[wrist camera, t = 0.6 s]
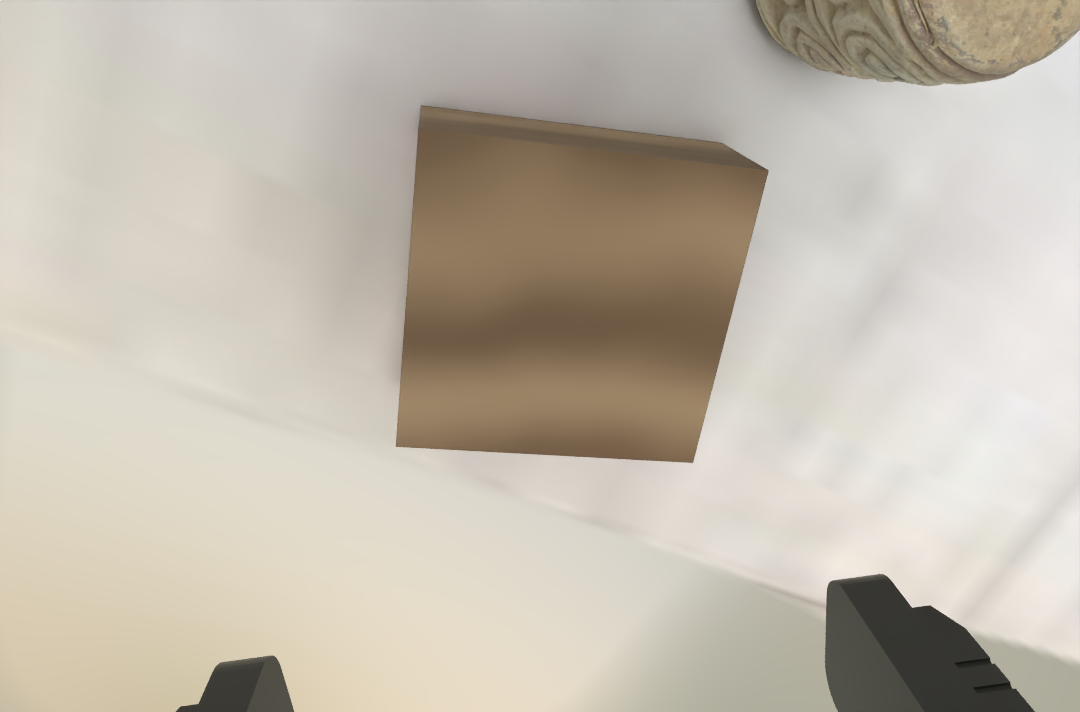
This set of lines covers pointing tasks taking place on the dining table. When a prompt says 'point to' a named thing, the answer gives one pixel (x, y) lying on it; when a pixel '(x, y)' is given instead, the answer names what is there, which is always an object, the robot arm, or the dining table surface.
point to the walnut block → (568, 286)
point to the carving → (921, 36)
